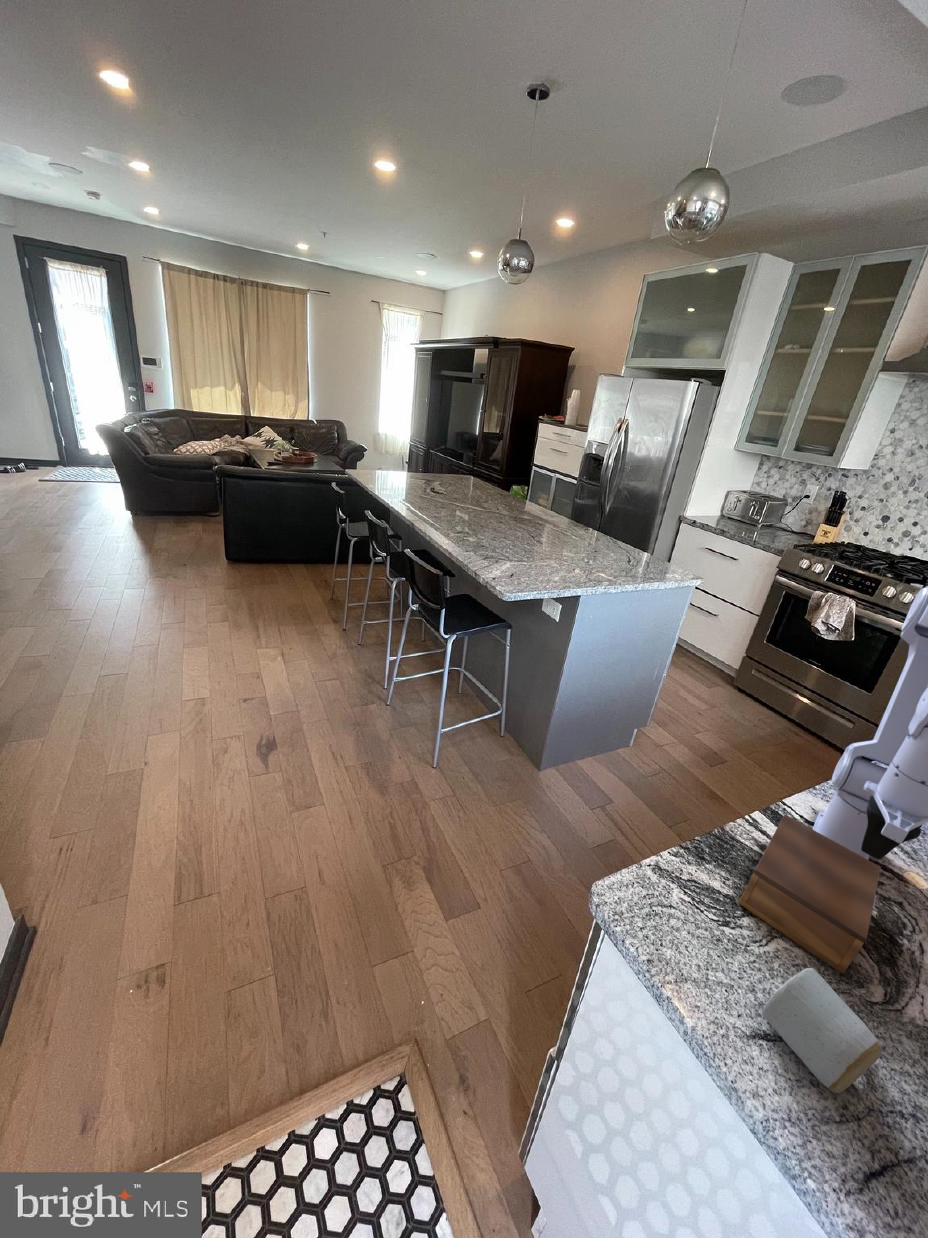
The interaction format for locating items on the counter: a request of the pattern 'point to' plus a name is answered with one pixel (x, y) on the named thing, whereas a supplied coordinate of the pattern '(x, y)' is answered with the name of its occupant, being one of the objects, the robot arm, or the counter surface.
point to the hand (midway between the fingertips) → (870, 852)
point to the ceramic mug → (822, 1030)
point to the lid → (821, 876)
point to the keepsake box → (800, 923)
